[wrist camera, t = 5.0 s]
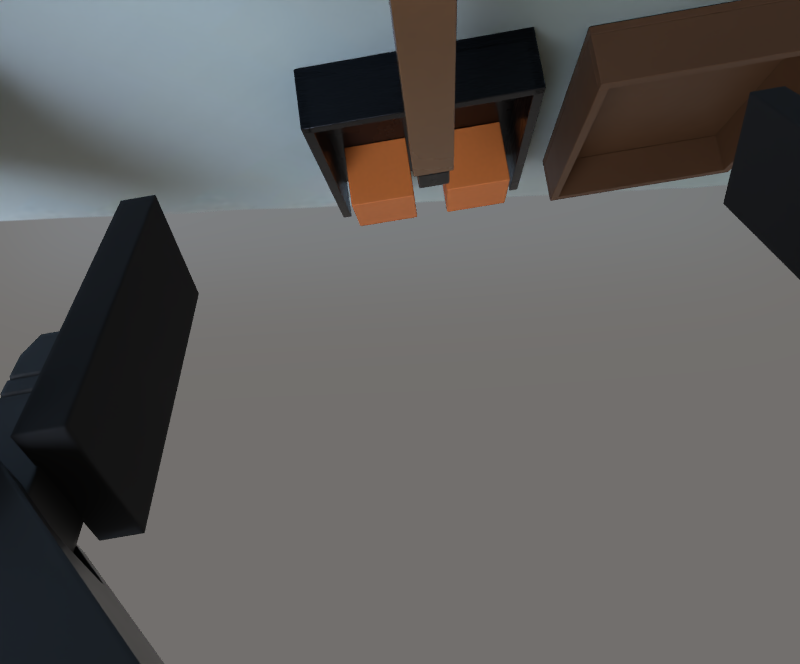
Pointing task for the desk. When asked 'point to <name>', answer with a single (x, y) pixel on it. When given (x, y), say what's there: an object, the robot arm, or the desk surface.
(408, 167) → the block
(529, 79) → the pan
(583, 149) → the tray
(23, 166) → the desk surface
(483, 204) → the block
